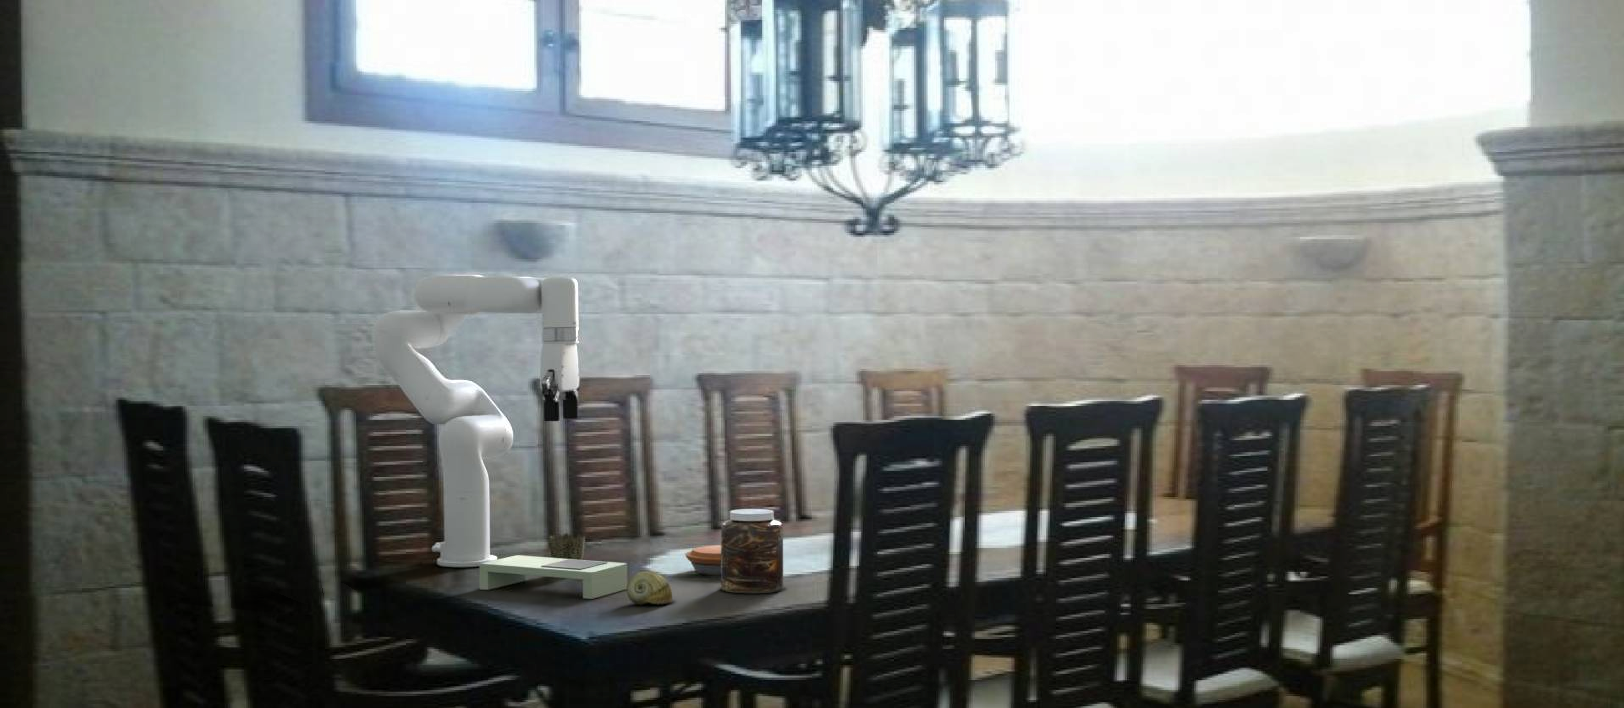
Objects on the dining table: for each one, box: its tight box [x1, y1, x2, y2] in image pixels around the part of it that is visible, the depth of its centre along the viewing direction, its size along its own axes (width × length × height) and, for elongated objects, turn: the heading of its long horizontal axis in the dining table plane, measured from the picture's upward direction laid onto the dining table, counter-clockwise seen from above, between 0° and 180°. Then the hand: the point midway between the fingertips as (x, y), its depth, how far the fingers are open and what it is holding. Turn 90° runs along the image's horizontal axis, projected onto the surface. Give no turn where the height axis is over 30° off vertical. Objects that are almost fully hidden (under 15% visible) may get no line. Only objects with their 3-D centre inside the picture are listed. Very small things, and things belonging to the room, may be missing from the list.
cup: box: [548, 532, 586, 560], centre depth 311 cm, size 8×7×8 cm
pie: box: [684, 544, 721, 576], centre depth 314 cm, size 15×16×5 cm
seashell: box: [626, 570, 673, 606], centre depth 277 cm, size 10×7×8 cm
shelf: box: [478, 554, 628, 600], centre depth 293 cm, size 26×12×5 cm, turn 64°
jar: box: [720, 508, 784, 595], centre depth 292 cm, size 12×12×15 cm
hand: (561, 419), depth 314 cm, fingers open, 9 cm apart
